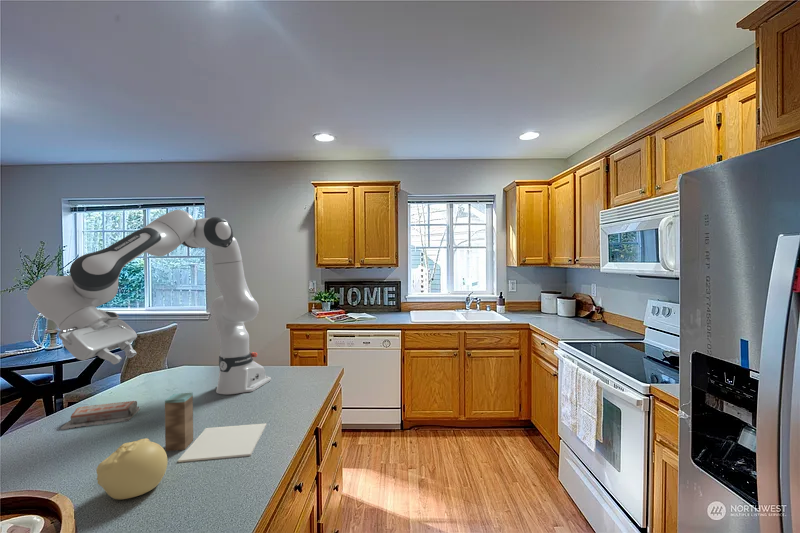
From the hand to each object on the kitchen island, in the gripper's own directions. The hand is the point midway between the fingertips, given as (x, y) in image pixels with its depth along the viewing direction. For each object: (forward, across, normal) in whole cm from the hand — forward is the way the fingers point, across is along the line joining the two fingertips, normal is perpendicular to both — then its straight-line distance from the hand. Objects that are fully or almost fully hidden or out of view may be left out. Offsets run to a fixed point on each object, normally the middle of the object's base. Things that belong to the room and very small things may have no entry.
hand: (126, 358), depth 95 cm
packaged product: (+4, +24, +33) cm, 41 cm away
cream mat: (+36, 0, 0) cm, 36 cm away
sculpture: (+27, -19, +9) cm, 34 cm away
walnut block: (+27, 0, +8) cm, 29 cm away
